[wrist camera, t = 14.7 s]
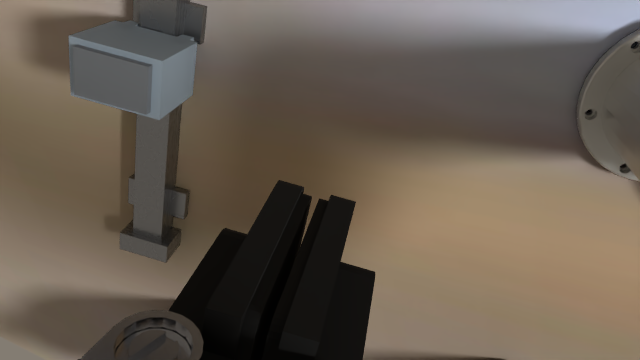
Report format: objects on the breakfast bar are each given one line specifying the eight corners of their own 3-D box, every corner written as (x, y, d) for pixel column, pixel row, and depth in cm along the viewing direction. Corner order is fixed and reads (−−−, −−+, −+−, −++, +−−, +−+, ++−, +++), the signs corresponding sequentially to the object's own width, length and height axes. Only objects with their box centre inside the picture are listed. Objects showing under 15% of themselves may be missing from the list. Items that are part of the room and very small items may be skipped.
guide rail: (139, -38, 41) (118, -34, 38) (209, -19, 40) (193, -15, 38) (131, 230, 54) (115, 247, 51) (184, 246, 54) (170, 264, 51)
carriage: (121, 17, 42) (63, 37, 35) (202, 39, 41) (158, 63, 34) (121, 70, 44) (65, 97, 37) (197, 91, 43) (155, 122, 37)
